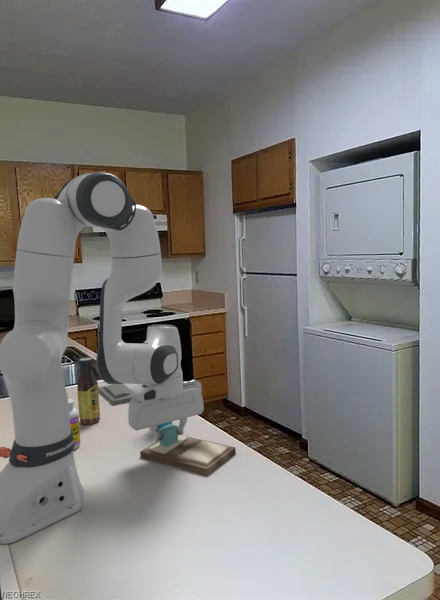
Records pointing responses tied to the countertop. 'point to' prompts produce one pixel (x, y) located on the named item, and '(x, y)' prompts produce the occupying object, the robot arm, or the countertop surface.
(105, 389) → the soap mold
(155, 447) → the panel
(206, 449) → the board
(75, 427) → the supplement bottle
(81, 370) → the sauce bottle
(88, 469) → the countertop surface
